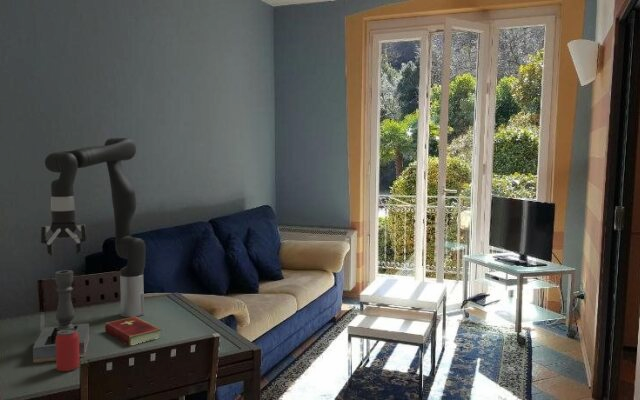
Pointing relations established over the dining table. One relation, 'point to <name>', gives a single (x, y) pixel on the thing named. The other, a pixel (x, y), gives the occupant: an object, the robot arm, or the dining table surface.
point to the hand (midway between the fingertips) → (64, 254)
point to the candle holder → (64, 299)
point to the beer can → (67, 350)
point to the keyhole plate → (47, 343)
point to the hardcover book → (132, 330)
